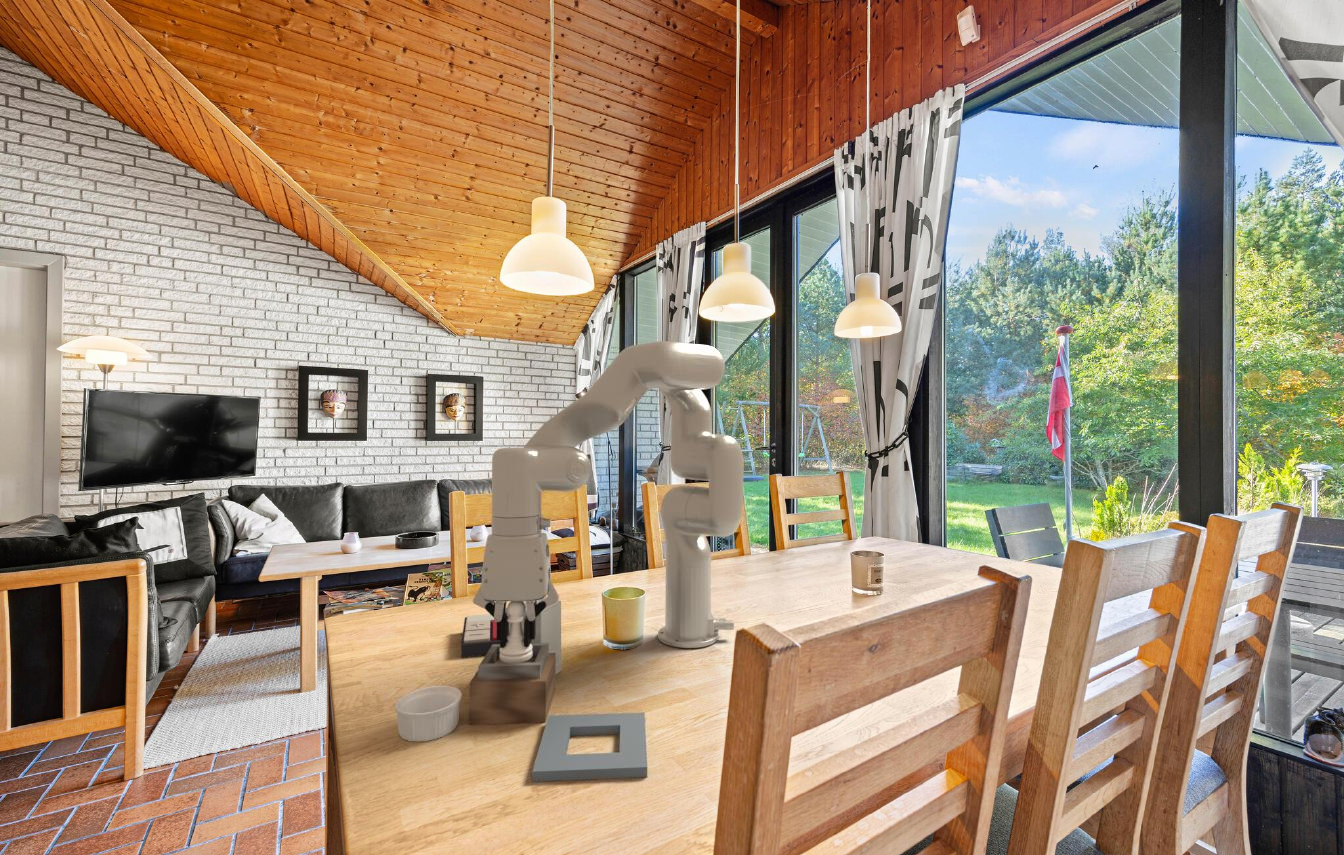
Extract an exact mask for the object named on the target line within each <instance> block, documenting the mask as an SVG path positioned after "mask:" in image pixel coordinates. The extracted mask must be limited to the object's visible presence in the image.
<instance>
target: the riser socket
mask: <svg viewBox="0 0 1344 855" xmlns="http://www.w3.org/2000/svg"><path fill="white" fill-rule="evenodd" d="M531 644H532V646H533V648H532V651H533V655H532V657H531V659H529V660H527V661H525V662H522V663H504V662H502V661H500V659H499V655H500V651H499V650H500V644H493V645H492V646H491V648H490V649H489V651H488V653H487V654H486V656H483V658H482V660H481V662H480V664H478V668H477V671H476V672H475V674H474V676H473V677H472V679H471V680H470V682H469V685H468V688H469V690H468V691H469V692H468V693H469V694H468V695H469V696H468V704H469V705H468V725H469V726H471V725H472V726H474V725H476V726H477V725H499V724H500V725H501V724H503V725H505V724H528V723H529V724H531V723H533V724H534V723H547V719H548V716H549V712H550V708H551V706H552V702H553V698H554V694H555V691H556V675H555V658H556V653H549V643H531Z"/></svg>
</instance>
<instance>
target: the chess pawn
mask: <svg viewBox="0 0 1344 855" xmlns="http://www.w3.org/2000/svg"><path fill="white" fill-rule="evenodd" d="M506 608H507V612H508V614H509V616H510V617H508V619H507V621H508V622H511V630H510V634H509V635H508V636H507V638H506V639H507V642H506V645H505V647H504V648H500V650H499V651H500V655H499V659H500V661H502V662H504V663H522V662H525V661H527V660H529V659H531V657H532V655H533V651H532V648H533V646H532V644H531V643H530V645H529V647H525V646H524V634H523V632H522V625H521V622H522V621H524V620H526V618H525V616H523V614H524V613H525V609H526V606H525V603H524V602H523V601H509V602H508V603H507V605H506Z"/></svg>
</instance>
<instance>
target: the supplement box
mask: <svg viewBox="0 0 1344 855" xmlns="http://www.w3.org/2000/svg"><path fill="white" fill-rule="evenodd" d="M543 599H544V598H543ZM543 599H541V600H543ZM541 600H537V604H538V603H539V602H540V601H541ZM523 602H524V603H525V606H526V601H523ZM506 613H507V616H508V617H510V616H509V614H508V612H507V607H506ZM523 616H525V618H526V616H527V608H526V609H525V613H524V614H523ZM524 621H525V620H524ZM524 621H522V622H521V625H522V632H523V634H524ZM510 630H511V622H509V634H510ZM531 643H549V653H556V658H555V676H557V675H558V674H559V673H561V671H562V601H561V600H558V601H557V602H556V603H554V604H552V605H551V606H549V607H547V608H545V609H544V610H543V611H542V612H541V613H540V614H539V615H538V616H537V617H536V635H535V639H534V640H532V641H531Z"/></svg>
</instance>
